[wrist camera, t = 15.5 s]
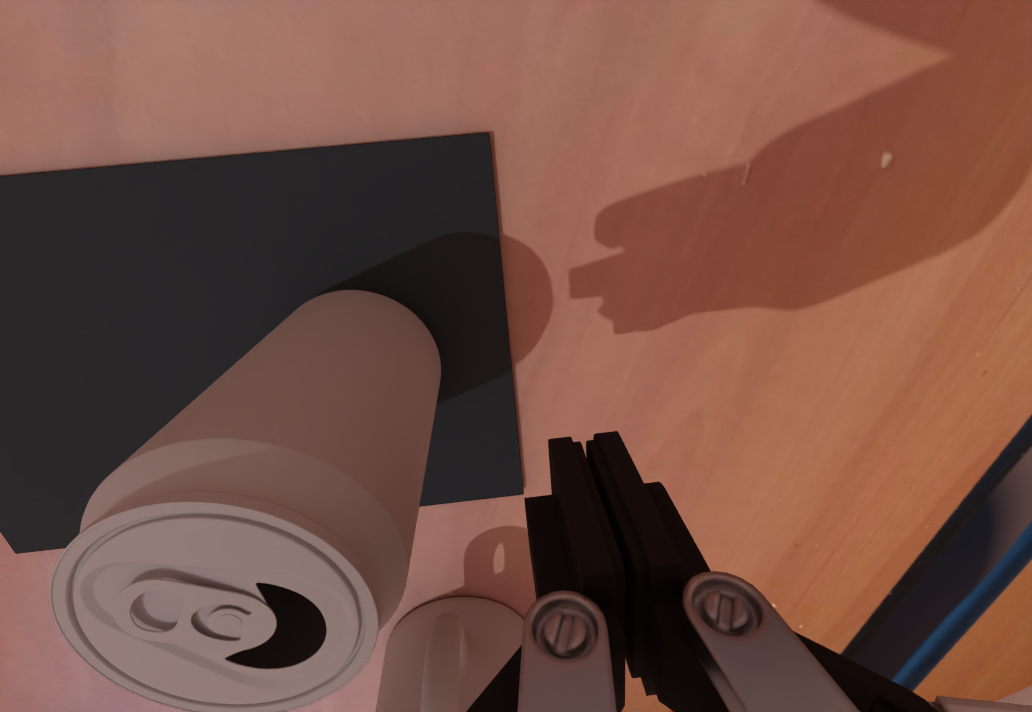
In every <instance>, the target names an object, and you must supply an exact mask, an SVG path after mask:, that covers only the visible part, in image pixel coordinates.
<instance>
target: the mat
mask: <svg viewBox="0 0 1032 712" xmlns="http://www.w3.org/2000/svg"><path fill="white" fill-rule="evenodd" d="M341 290H361V291H368V292H372V293H377V294H380V295H383V296H386V297H388V298H391V299H393V300H395V301H396V302H398V303H400V304H402V305H403V306H405V307H406V308H408V309H409V310H410V311H411V312H413V313H414V314H415V315H416V316H417V317H418V318H419V319H420V320H421V321H422V322H423V324H424V325H425V326H426V327H427V329H428V330H429V332H430V334H431V335H432V337H433V339H434V341H435V343H436V346H437V349H438V352H439V356H440V362H441V379H440V385H439V391H438V397H437V403H436V409H435V415H434V421H433V427H432V433H431V439H430V445H429V451H428V457H427V463H426V469H425V475H424V481H423V487H422V492H421V498H420V504H419V507H420V506H429V505H437V504H446V503H454V502H463V501H471V500H480V499H488V498H497V497H505V496H514V495H523V494H524V491H523V480H522V470H521V459H520V449H519V438H518V428H517V418H516V407H515V397H514V386H513V376H512V365H511V355H510V344H509V334H508V324H507V313H506V303H505V292H504V282H503V271H502V261H501V250H500V240H499V230H498V219H497V209H496V198H495V188H494V177H493V167H492V156H491V146H490V135H489V133H477V134H466V135H455V136H444V137H432V138H421V139H410V140H399V141H388V142H377V143H365V144H354V145H343V146H332V147H321V148H310V149H299V150H287V151H276V152H265V153H254V154H243V155H232V156H220V157H209V158H198V159H187V160H176V161H165V162H154V163H142V164H131V165H120V166H109V167H98V168H87V169H75V170H64V171H53V172H42V173H31V174H20V175H9V176H0V532H1V533H2V535H3V536H4V538H5V539H6V541H7V542H8V543H9V545H10V546H11V548H12V549H13V551H14V552H15V553H16V554H18V553H27V552H35V551H44V550H53V549H61V548H66V547H67V546H68V545H69V544H70V543H71V542H72V541H73V540H74V539H75V538H76V537H77V536H78V535H79V533H80V526H81V520H82V517H83V514H84V511H85V509H86V506H87V504H88V502H89V500H90V498H91V496H92V495H93V493H94V492H95V491H96V489H97V488H98V486H99V485H100V484H101V483H102V482H103V481H104V480H105V479H106V478H107V477H108V476H109V475H110V474H111V473H112V472H113V471H114V470H116V469H117V468H118V467H119V466H120V465H121V464H122V463H123V462H125V461H126V460H127V459H128V458H129V457H130V456H131V455H133V454H134V453H135V452H136V451H137V450H138V449H139V448H140V447H142V446H143V445H144V444H145V443H146V442H147V441H148V440H149V439H151V438H152V437H153V436H154V435H155V434H156V433H157V432H159V431H160V430H161V429H162V428H163V427H164V426H165V425H166V424H168V423H169V422H170V421H171V420H172V419H173V418H174V417H175V416H177V415H178V414H179V413H180V412H181V411H182V410H183V409H185V408H186V407H187V406H188V405H189V404H190V403H191V402H192V401H194V400H195V399H196V398H197V397H198V396H199V395H200V394H201V393H203V392H204V391H205V390H206V389H207V388H208V387H209V386H211V385H212V384H213V383H214V382H215V381H216V380H217V379H218V378H220V377H221V376H222V375H223V374H224V373H225V372H226V371H227V370H229V369H230V368H231V367H232V366H233V365H234V364H235V363H236V362H238V361H239V360H240V359H241V358H242V357H243V356H244V355H246V354H247V353H248V352H249V351H250V350H251V349H252V348H253V347H255V346H256V345H257V344H258V343H259V342H260V341H261V340H262V339H264V338H265V337H266V336H267V335H268V334H269V333H270V332H272V331H273V330H274V329H275V328H276V327H277V326H278V325H279V324H281V323H282V322H283V321H284V320H285V319H286V318H287V317H288V316H290V315H291V314H292V313H293V312H294V311H295V310H296V309H298V308H299V307H300V306H301V305H303V304H304V303H306V302H307V301H309V300H311V299H313V298H315V297H317V296H320V295H323V294H326V293H329V292H334V291H341Z"/></svg>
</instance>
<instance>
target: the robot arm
mask: <svg viewBox="0 0 1032 712" xmlns="http://www.w3.org/2000/svg"><path fill="white" fill-rule="evenodd" d="M548 447H549V461H550V475H551V489H552V495H546V496H538V497H529V498H525V509H526V519H527V529H528V538H529V546H530V554H531V562H532V569H533V577H534V584H535V592H536V599H537V601H536V602H534V603H533V604H532V605H531V607H530V609H529V610H528V612H527V613H526V616H525V620H524V624H523V635H522V645H521V646H520V647H519V648H518V650H517V651H516V652H515V653H514V654H513V656H512V657H511V658H510V659H509V661H508V662H507V663H506V664H505V665H504V667H503V668H502V669H501V670H500V671H499V673H498V674H497V675H496V676H495V677H494V679H493V680H492V681H491V682H490V683H489V685H488V686H487V687H486V688H485V689H484V691H483V692H482V693H481V694H480V695H479V697H478V698H477V699H476V700H475V701H474V703H473V704H472V705H471V706H470V707H469V709H468V710H467V711H466V712H621V711H622V710H623V708H624V706H625V658H626V661H627V665H628V668H629V671H630V674H631V676H632V678H638V677H641V680H642V683H643V686H644V689H645V692H646V696H648V695H655V694H657V697H658V700H659V701H660V702H661V703H662V704H664V705H665V706H667V707H668V708H670V709H671V710H672V711H674V712H1032V706H1029V705H1019V704H1010V703H1001V702H992V701H982V700H973V699H964V698H954V697H945V696H937V697H936V699H935V701H934V702H928V701H926V700H925V699H923V698H921V697H920V696H918V695H916V694H915V693H913V692H912V691H910V690H908V689H907V688H905V687H903V686H901V685H899V684H897V683H895V682H893V681H891V680H889V679H887V678H885V677H883V676H881V675H879V674H877V673H875V672H873V671H871V670H869V669H867V668H865V667H863V666H861V665H859V664H857V663H855V662H853V661H851V660H849V659H847V658H845V657H843V656H841V655H839V654H838V653H836V652H834V651H832V650H830V649H828V648H826V647H824V646H822V645H820V644H818V643H816V642H814V641H812V640H810V639H808V638H806V637H804V636H802V635H800V634H798V633H796V632H794V631H793V630H792V629H791V628H790V627H789V626H788V624H787V623H786V622H785V621H784V620H783V618H782V617H781V616H780V615H779V614H778V612H777V611H776V610H775V609H774V608H773V606H772V605H771V604H770V603H769V602H768V600H767V599H766V598H765V597H764V595H763V594H762V593H761V592H759V591H758V590H757V589H756V588H755V587H754V586H753V585H752V584H750V583H749V582H747V581H745V580H744V579H742V578H740V577H738V576H735V575H732V574H729V573H725V572H717V571H710V569H709V567H708V565H707V563H706V561H705V560H704V558H703V556H702V554H701V552H700V551H699V549H698V547H697V545H696V543H695V542H694V540H693V538H692V536H691V534H690V533H689V531H688V529H687V527H686V525H685V524H684V522H683V520H682V518H681V516H680V515H679V513H678V511H677V509H676V507H675V506H674V504H673V502H672V500H671V498H670V497H669V495H668V493H667V491H666V489H665V488H664V486H663V485H662V483H660V482H653V483H643V481H642V479H641V477H640V475H639V473H638V471H637V469H636V467H635V465H634V463H633V461H632V459H631V457H630V455H629V453H628V451H627V449H626V447H625V445H624V443H623V441H622V439H621V437H620V435H619V433H618V432H617V431H614V432H605V433H597V434H594V440H589V441H587V442H586V455H585V453H584V450H583V447H582V444H581V442H573V441H572V438H571V437H563V438H554V439H549V440H548ZM586 456H587V458H586Z"/></svg>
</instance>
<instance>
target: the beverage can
mask: <svg viewBox="0 0 1032 712" xmlns="http://www.w3.org/2000/svg"><path fill="white" fill-rule="evenodd" d="M440 379H441V362H440V356H439V352H438V349H437V346H436V343H435V341H434V339H433V337H432V335H431V334H430V332H429V330H428V329H427V327H426V326H425V325H424V324H423V322H422V321H421V320H420V319H419V318H418V317H417V316H416V315H415V314H414V313H413V312H411V311H410V310H409V309H408V308H406V307H405V306H403V305H402V304H400V303H398V302H396V301H395V300H393V299H391V298H388V297H386V296H383V295H380V294H377V293H372V292H368V291H361V290H341V291H334V292H329V293H326V294H323V295H320V296H317V297H315V298H313V299H311V300H309V301H307V302H306V303H304V304H303V305H301V306H300V307H299V308H298V309H296V310H295V311H294V312H293V313H292V314H291V315H290V316H288V317H287V318H286V319H285V320H284V321H283V322H282V323H281V324H279V325H278V326H277V327H276V328H275V329H274V330H273V331H272V332H270V333H269V334H268V335H267V336H266V337H265V338H264V339H262V340H261V341H260V342H259V343H258V344H257V345H256V346H255V347H253V348H252V349H251V350H250V351H249V352H248V353H247V354H246V355H244V356H243V357H242V358H241V359H240V360H239V361H238V362H236V363H235V364H234V365H233V366H232V367H231V368H230V369H229V370H227V371H226V372H225V373H224V374H223V375H222V376H221V377H220V378H218V379H217V380H216V381H215V382H214V383H213V384H212V385H211V386H209V387H208V388H207V389H206V390H205V391H204V392H203V393H201V394H200V395H199V396H198V397H197V398H196V399H195V400H194V401H192V402H191V403H190V404H189V405H188V406H187V407H186V408H185V409H183V410H182V411H181V412H180V413H179V414H178V415H177V416H175V417H174V418H173V419H172V420H171V421H170V422H169V423H168V424H166V425H165V426H164V427H163V428H162V429H161V430H160V431H159V432H157V433H156V434H155V435H154V436H153V437H152V438H151V439H149V440H148V441H147V442H146V443H145V444H144V445H143V446H142V447H140V448H139V449H138V450H137V451H136V452H135V453H134V454H133V455H131V456H130V457H129V458H128V459H127V460H126V461H125V462H123V463H122V464H121V465H120V466H119V467H118V468H117V469H116V470H114V471H113V472H112V473H111V474H110V475H109V476H108V477H107V478H106V479H105V480H104V481H103V482H102V483H101V484H100V485H99V486H98V488H97V489H96V491H95V492H94V493H93V495H92V496H91V498H90V500H89V502H88V504H87V506H86V509H85V511H84V514H83V517H82V520H81V526H80V533H79V535H78V536H77V537H76V538H75V539H74V540H73V541H72V542H71V543H70V544H69V545H68V546H67V547H66V548H65V550H64V551H63V552H62V554H61V555H60V557H59V558H58V560H57V561H56V564H55V566H54V569H53V572H52V574H51V577H50V583H49V604H50V608H51V613H52V617H53V619H54V622H55V624H56V626H57V628H58V630H59V632H60V634H61V635H62V637H63V639H64V640H65V641H66V643H67V644H68V646H69V647H70V648H71V649H72V650H73V652H74V653H75V654H76V655H77V656H78V657H79V658H80V659H81V660H82V661H83V662H84V663H85V664H86V665H87V666H89V667H90V668H91V669H92V670H93V671H95V672H96V673H98V674H99V675H100V676H102V677H103V678H105V679H106V680H108V681H109V682H111V683H113V684H114V685H116V686H118V687H120V688H121V689H123V690H125V691H127V692H129V693H131V694H134V695H136V696H138V697H141V698H143V699H146V700H148V701H151V702H154V703H157V704H160V705H163V706H166V707H170V708H173V709H177V710H182V711H186V712H287V711H291V710H295V709H298V708H302V707H305V706H308V705H311V704H313V703H315V702H317V701H319V700H321V699H323V698H325V697H327V696H329V695H331V694H333V693H335V692H337V691H338V690H340V689H341V688H343V687H344V686H346V685H347V684H348V683H349V682H350V681H351V680H353V679H354V678H355V677H356V676H357V675H358V674H359V673H360V671H361V670H362V669H363V668H364V666H365V665H366V664H367V662H368V660H369V659H370V657H371V654H372V652H373V650H374V647H375V645H376V641H377V636H378V632H379V631H380V630H381V629H382V628H383V626H384V625H385V624H386V623H387V622H388V621H389V619H390V618H391V617H392V615H393V614H394V612H395V611H396V609H397V607H398V605H399V603H400V601H401V599H402V596H403V594H404V591H405V587H406V582H407V576H408V570H409V564H410V558H411V552H412V546H413V540H414V534H415V528H416V522H417V516H418V510H419V504H420V498H421V492H422V487H423V481H424V475H425V469H426V463H427V457H428V451H429V445H430V439H431V433H432V427H433V421H434V415H435V409H436V403H437V397H438V391H439V385H440Z"/></svg>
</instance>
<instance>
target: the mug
mask: <svg viewBox="0 0 1032 712" xmlns="http://www.w3.org/2000/svg"><path fill="white" fill-rule="evenodd" d="M523 624H524V620H523V619H522V618H521V617H520V616H519V615H518V614H517V613H516V612H515V611H513V610H512V609H510V608H509V607H507V606H505V605H503V604H500V603H498V602H495V601H492V600H488V599H484V598H477V597H453V598H445V599H441V600H437V601H434V602H431V603H428V604H425V605H423V606H421V607H419V608H417V609H415V610H414V611H412V612H411V613H409V614H408V615H407V616H405V617H404V618H403V619H402V620H401V621H400V622H399V623H398V624H397V626H396V627H395V628H394V630H393V632H392V634H391V636H390V638H389V640H388V644H387V647H386V651H385V656H384V662H383V669H382V675H381V682H380V688H379V695H378V701H377V706H376V712H466V711H467V710H468V709H469V707H470V706H471V705H472V704H473V703H474V701H475V700H476V699H477V698H478V697H479V695H480V694H481V693H482V692H483V691H484V689H485V688H486V687H487V686H488V685H489V683H490V682H491V681H492V680H493V679H494V677H495V676H496V675H497V674H498V673H499V671H500V670H501V669H502V668H503V667H504V665H505V664H506V663H507V662H508V661H509V659H510V658H511V657H512V656H513V654H514V653H515V652H516V651H517V650H518V648H519V647H520V646H521V645H522V635H523Z"/></svg>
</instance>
